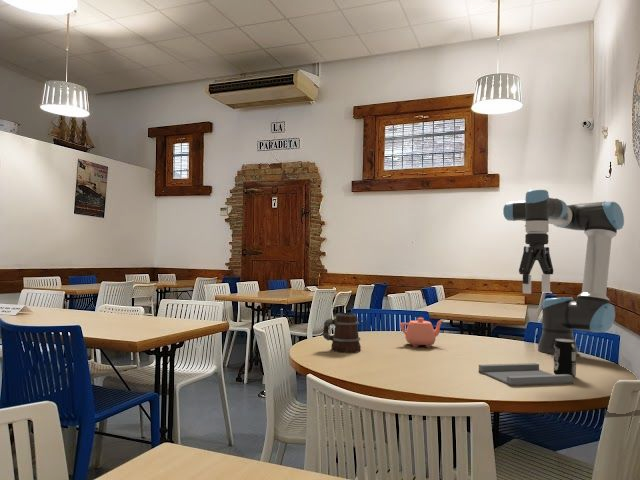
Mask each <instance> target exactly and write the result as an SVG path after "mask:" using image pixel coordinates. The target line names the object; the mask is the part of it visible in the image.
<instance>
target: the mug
mask: <svg viewBox="0 0 640 480" xmlns="http://www.w3.org/2000/svg"><path fill="white" fill-rule="evenodd" d="M335 316H336V317H335V318H334V319H333V318H328V319H326V320H325V321H324V323H323V325H324V326H323V331H322V332H321V334H322V336H323V338H324V339H325V340H326V341H332V342H331V350H332V352H336V351H337V352H336V353H344V352H346V353H347V354H350V353H351V352H352V353H358V352H360V351H362V350H361V347H362V346H361V343H360V341H361V337H359V329H358V325H359V324H360V321H359V320H358V318H357V314H356V313H354V312H338V313H336V315H335ZM332 325H333V326H334V332H333V334H332V335H331V334H330V333H329V329H330V328H329V327H331V326H332Z"/></svg>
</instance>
